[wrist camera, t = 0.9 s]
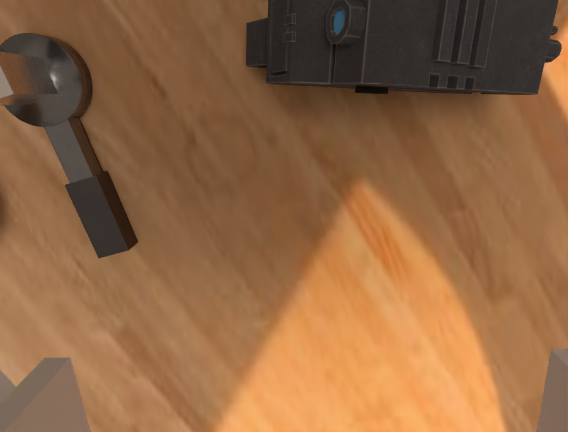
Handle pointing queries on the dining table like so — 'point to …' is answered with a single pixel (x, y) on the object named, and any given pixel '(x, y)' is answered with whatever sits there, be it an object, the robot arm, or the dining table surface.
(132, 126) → the dining table surface
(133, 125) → the dining table surface
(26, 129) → the dining table surface
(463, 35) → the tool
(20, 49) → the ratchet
